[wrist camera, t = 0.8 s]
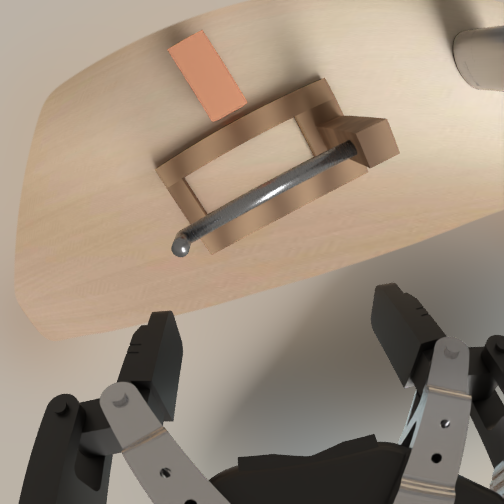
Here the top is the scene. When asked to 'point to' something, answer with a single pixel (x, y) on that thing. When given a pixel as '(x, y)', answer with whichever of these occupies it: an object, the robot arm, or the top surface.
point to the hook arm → (261, 195)
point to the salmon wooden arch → (207, 76)
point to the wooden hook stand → (318, 138)
